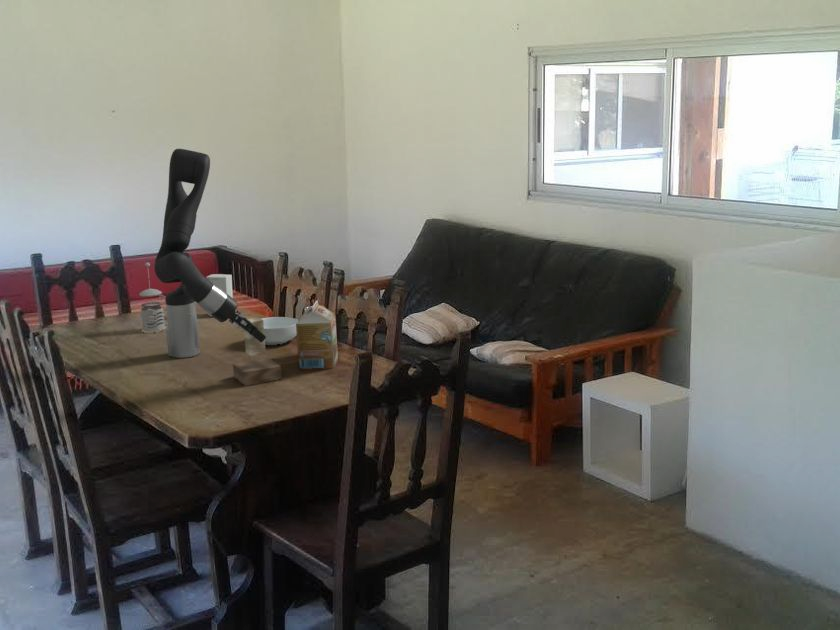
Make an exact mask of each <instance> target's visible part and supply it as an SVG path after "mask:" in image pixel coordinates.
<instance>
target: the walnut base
mask: <svg viewBox="0 0 840 630" xmlns="http://www.w3.org/2000/svg"><path fill="white" fill-rule="evenodd" d="M232 369H233V377H234V378H235V379H236V380H237V379H238V381H239V382H240V383H241V384H242V385H243V386H246V387H247V386H250V385H252V384H253V385H258V384H262V383H268V382H269V381H270V382H273V380H276V381H280V380H279V379H281V380H282V366H281V365H280V364H278V363H277V362H275V361H274V360H272V359H271V358H269V357H266V358H261V359H252V360H247V361H242V362H235V363H232ZM253 385H252V386H253Z"/></svg>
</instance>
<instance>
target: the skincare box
mask: <svg viewBox="0 0 840 630" xmlns="http://www.w3.org/2000/svg"><path fill="white" fill-rule="evenodd" d="M232 276H233V275H232V274H224V273H218V274H217V273H215V274H214V273H213V274H210V275H207V276H206V277H205V278H207V279H208V280H209V281H210V282H212V283H213V284H214V285H216V286H218V287H219V288H220V289H222V290H223V291H224V292H225V293H227V294H228V295H229V296H230V297H232V298H233V299H234V297H233V293H234V292H233V277H232ZM207 313H208V312H207ZM209 315H210V314H209V313H208V316H209Z"/></svg>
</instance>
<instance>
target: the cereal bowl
mask: <svg viewBox="0 0 840 630" xmlns="http://www.w3.org/2000/svg"><path fill="white" fill-rule="evenodd" d="M261 319H262V320H263V323H264V335H265V336H266V338H265V346H266V345H267V346H278V345H277V344H280V345H284V344H286V343H287V342H288V341H291V340H293V339H294V338H295V337H297V332H296V323H297V322H298V320H299V319H297V318H293V317H287V316H286V317H284V316H272V317H263V318H261ZM283 343H284V344H283Z"/></svg>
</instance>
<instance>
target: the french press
mask: <svg viewBox="0 0 840 630" xmlns="http://www.w3.org/2000/svg"><path fill="white" fill-rule="evenodd" d="M144 266H145V267H147V269H149V267H150V266H151V264H150V262H148V261H147V262H145V263H144ZM147 273H148V274H147V275H148V278H150V273H149V271H147ZM150 282H151V281H148V284H149V286H148V287H149V288H147V289H144V290H142V291H140V292H139V293H138V295H139V296H140V297H148V298H149V297H150V298H151V297H156V296H159V297H158V298H159V299H160V300H163V298H164V299H165V297H166V295H163V293H162V290H159V289H157V288H156V289H155V288H151V283H150ZM161 305H162V302H161V301H152V300H150V302H144V303H142V304H141V307H142V308H140V311H141V312H140V313H141V322H142V323H141V325H142V329H143V330H145V331H154V330H162V329H165V328H166V327H167V326H166V323H165V322H166V321H165V316H166V315H167V311H166V310H165V311H164V307H163V306H161Z"/></svg>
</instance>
